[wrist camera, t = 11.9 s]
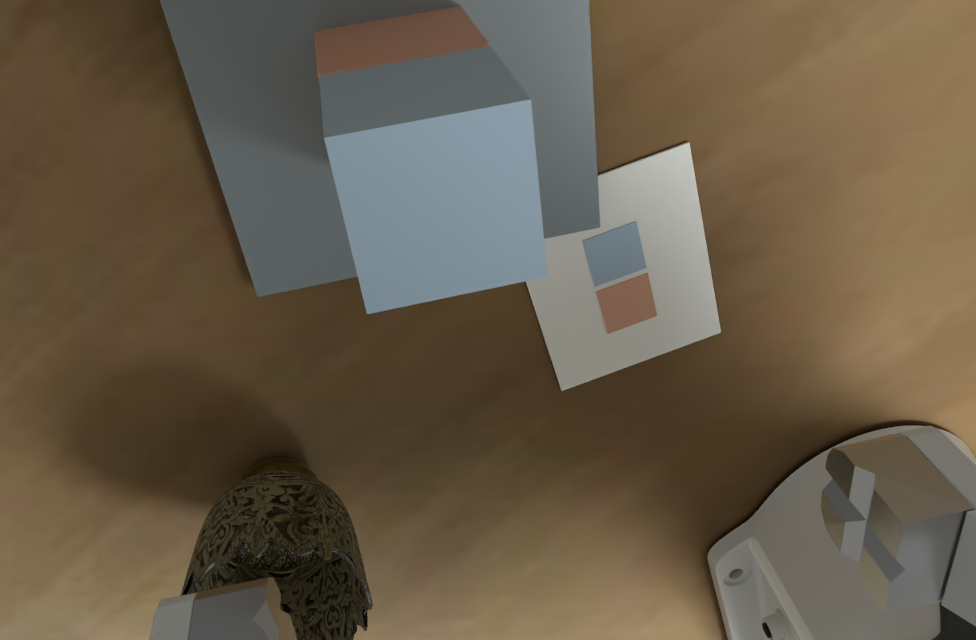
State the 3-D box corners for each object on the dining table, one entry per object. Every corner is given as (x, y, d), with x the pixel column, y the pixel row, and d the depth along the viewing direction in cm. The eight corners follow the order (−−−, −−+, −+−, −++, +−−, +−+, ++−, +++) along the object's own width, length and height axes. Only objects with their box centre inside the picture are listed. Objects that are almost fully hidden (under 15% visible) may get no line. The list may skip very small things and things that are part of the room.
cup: (391, 482, 40) (409, 618, 33) (273, 558, 41) (268, 705, 35) (287, 389, 36) (285, 524, 29) (160, 477, 37) (130, 626, 31)
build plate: (594, 218, 34) (600, 227, 34) (258, 287, 33) (257, 297, 32) (573, -168, 27) (580, -167, 26) (132, -100, 25) (128, -96, 25)
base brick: (478, 144, 31) (507, 199, 27) (346, 169, 30) (354, 229, 26) (460, 5, 28) (488, 43, 24) (313, 31, 28) (316, 73, 23)
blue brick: (490, 46, 24) (530, 99, 20) (508, 201, 27) (547, 276, 23) (319, 76, 23) (324, 138, 19) (355, 231, 26) (367, 314, 22)
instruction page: (720, 331, 39) (721, 333, 39) (561, 389, 39) (562, 392, 39) (688, 141, 33) (690, 143, 33) (502, 210, 33) (503, 211, 33)
